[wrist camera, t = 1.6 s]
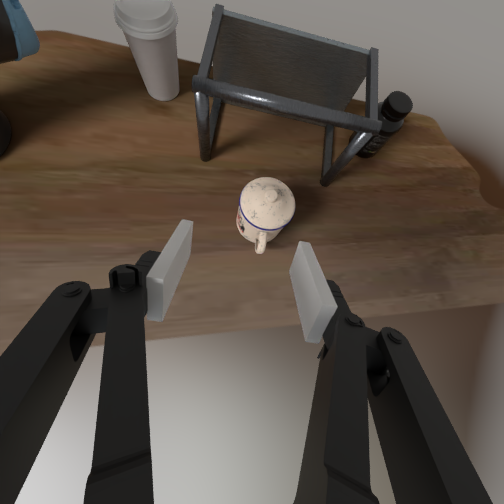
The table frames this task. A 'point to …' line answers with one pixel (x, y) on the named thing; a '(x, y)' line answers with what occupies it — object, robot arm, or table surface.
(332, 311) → the robot arm
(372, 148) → the supplement bottle
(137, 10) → the coffee cup
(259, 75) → the box
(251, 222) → the teacup with lid
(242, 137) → the table surface
